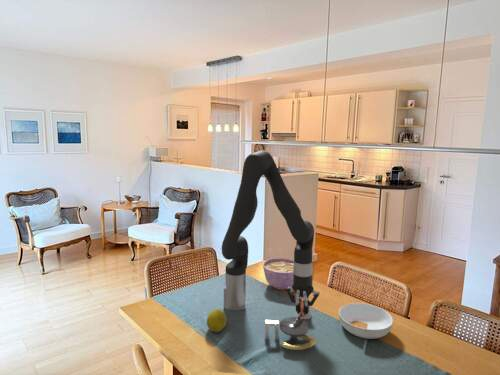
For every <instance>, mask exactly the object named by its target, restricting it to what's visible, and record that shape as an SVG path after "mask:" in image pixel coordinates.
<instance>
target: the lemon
mask: <svg viewBox="0 0 500 375" xmlns="http://www.w3.org/2000/svg"><path fill="white" fill-rule="evenodd" d="M206 325H207V327H208V329H209V330H210V331H212V332H213V333H219V332H221V331H223V330H224V329H225V326H226V325H227V316H226V314H225V312H224V311H223V310H221V309H218V308H217V309H213V310H211V311H210V313H208V315H207V318H206Z"/></svg>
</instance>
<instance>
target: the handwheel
mask: <svg viewBox="0 0 500 375" xmlns="http://www.w3.org/2000/svg"><path fill="white" fill-rule="evenodd" d="M304 306H305V301H304V299H302V298H300V313H299V317H298V316H297V317H295V316H294V317H293V316H290V317H284V318H283V319H281V320H280V322H279V331H280V332H282V333H283V334H285V335H287V336H289V341H290V342H294V343H296V342H298V340H299V339H302V340H305V341H307V342H306V343H305V342H304V343H301V344H300V343H299V344H297V343H296V344H292V343H288V342H284V341H283V342H282V343H281V347H283V348H284V349H289V350H301V351H302V350H306V349H309V348H312V347H313V346H315V345H316V344H317V339H316V337H312V336H309V335H307V333H308V332H309V330H310V329H309V328H310V325H309V322H307V321H306V319H302V318H304V317H305V315H304Z"/></svg>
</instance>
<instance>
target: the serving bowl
mask: <svg viewBox="0 0 500 375" xmlns="http://www.w3.org/2000/svg"><path fill="white" fill-rule="evenodd" d="M338 318H339V321H340V323H341V325H342V327H343V328H344V329H345V330H346V331H347V332H348V333H350V334H352V335H353V336H357V337H358V338H362V339H369V340H370V339H372V340H373V339H380V338H383V337H385V336H386V335H388V333H390V331H391V329H392V328H393V324H394V319H393V317H392V315H391V314H390V313H389V312H387V310H385V309H383V308H381V307H379V306H376V305H374V304H369V303H363V302H352V303H347V304H345V305H343V306H341V307H340V308H339V310H338ZM353 322H360V323H362V324H363V323H364V324H367V325H366V328H365V327H360V326H356V325H354V324H352V323H353Z"/></svg>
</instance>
